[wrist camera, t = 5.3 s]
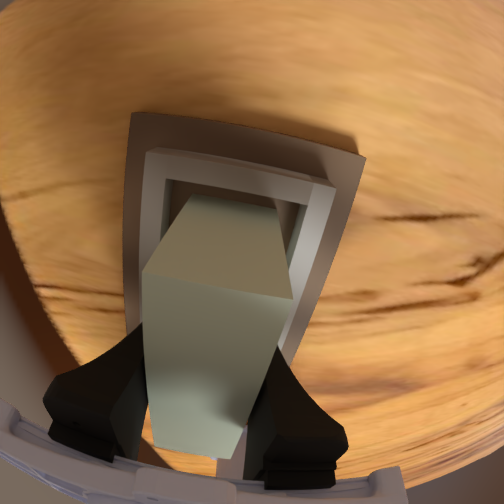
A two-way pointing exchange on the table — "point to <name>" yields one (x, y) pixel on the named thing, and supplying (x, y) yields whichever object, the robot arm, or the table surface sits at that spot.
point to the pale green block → (212, 322)
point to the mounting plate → (237, 198)
